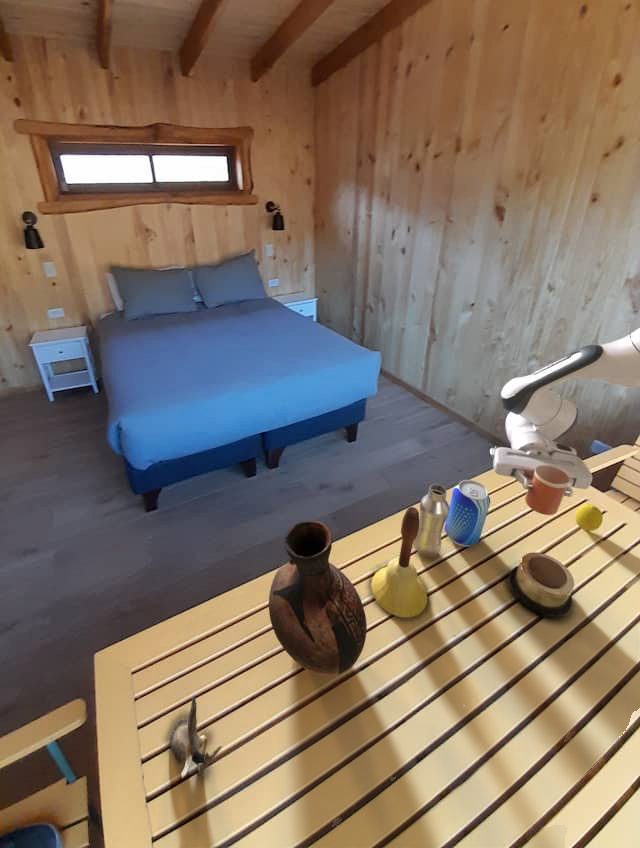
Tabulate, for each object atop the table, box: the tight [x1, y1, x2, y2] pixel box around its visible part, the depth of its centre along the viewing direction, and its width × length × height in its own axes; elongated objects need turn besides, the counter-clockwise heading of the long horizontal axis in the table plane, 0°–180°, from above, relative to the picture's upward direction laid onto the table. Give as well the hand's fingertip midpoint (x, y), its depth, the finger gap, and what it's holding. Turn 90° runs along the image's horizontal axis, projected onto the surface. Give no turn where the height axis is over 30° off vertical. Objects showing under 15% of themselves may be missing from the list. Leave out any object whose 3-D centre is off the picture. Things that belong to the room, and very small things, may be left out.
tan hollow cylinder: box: [507, 552, 575, 620], centre depth 88 cm, size 12×12×8 cm
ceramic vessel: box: [268, 520, 368, 676], centre depth 75 cm, size 21×18×30 cm
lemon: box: [574, 503, 604, 532], centre depth 103 cm, size 6×6×8 cm
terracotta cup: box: [524, 465, 570, 516], centre depth 91 cm, size 7×7×9 cm
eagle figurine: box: [169, 695, 222, 779], centre depth 66 cm, size 8×7×9 cm
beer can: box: [444, 479, 491, 547], centre depth 101 cm, size 8×8×16 cm
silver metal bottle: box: [412, 483, 450, 558], centre depth 96 cm, size 6×7×20 cm
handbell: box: [370, 506, 428, 618], centre depth 85 cm, size 12×12×25 cm
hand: (548, 490), depth 90 cm, fingers closed on terracotta cup, 6 cm apart
